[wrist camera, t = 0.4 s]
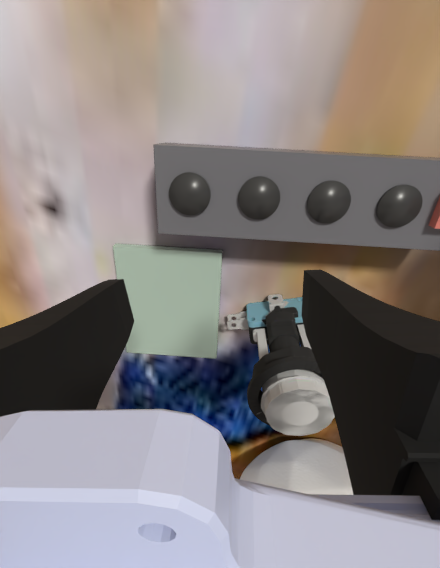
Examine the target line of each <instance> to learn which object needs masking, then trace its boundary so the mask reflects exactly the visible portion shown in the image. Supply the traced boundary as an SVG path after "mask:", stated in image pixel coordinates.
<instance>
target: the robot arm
mask: <svg viewBox="0 0 440 568" xmlns="http://www.w3.org/2000/svg"><path fill="white" fill-rule="evenodd" d="M301 315H302V320H303V324H304V329H305V333H306V336H307V339H308V342H309V344H310V347H311V349H312V352H313V354H314V357H315V359H316V362H317V364H318V367H319V369H320V372H321V374H322V377H323V379H324V382H325V385H326V388H327V391H328V394H329V397H330V401H331V405H332V408H333V412H334V416H335V419H336V423H337V427H338V431H339V435H340V439H341V443H342V447H343V451H344V456H345V460H346V464H347V468H348V473H349V477H350V481H351V486H352V491H353V495H328V494H305V493H301V492H296V491H291V490H287V489H282V488H277V487H273V486H268V485H264V484H259V483H254V482H250V481H245V480H240V479H236V478H234V476H233V473H232V465H231V455H230V450H229V448H228V446H227V444H226V442H225V440H224V439H223V437H222V435H221V433H220V431H219V430H217V429H216V428H214V427H213V426H211V425H210V424H208V423H206V422H205V421H203V420H201V419H200V418H198V417H196V416H195V415H193V414H189V413H183V412H177V411H172V410H166V409H113V410H96V407H97V405H98V402H99V399H100V397H101V395H102V392H103V390H104V388H105V386H106V384H107V382H108V380H109V378H110V376H111V374H112V372H113V370H114V368H115V366H116V364H117V362H118V360H119V358H120V356H121V354H122V352H123V350H124V348H125V346H126V344H127V342H128V340H129V337H130V334H131V331H132V327H133V324H134V318H133V314H132V310H131V306H130V302H129V298H128V294H127V290H126V286H125V283H124V279H115V280H107V281H104V282H102V283H99V284H97V285H95V286H93V287H91V288H89V289H87V290H85V291H83V292H81V293H79V294H77V295H75V296H73V297H71V298H69V299H67V300H65V301H63V302H61V303H59V304H57V305H55V306H53V307H51V308H49V309H47V310H45V311H43V312H40V313H38V314H36V315H33V316H31V317H29V318H26V319H24V320H21V321H19V322H16V323H13V324H11V325H8V326H5V327H2V328H0V568H440V322H439V321H436V320H432V319H429V318H425V317H422V316H419V315H416V314H413V313H410V312H407V311H404V310H402V309H399V308H396V307H394V306H391V305H389V304H386V303H384V302H382V301H379V300H377V299H375V298H373V297H371V296H369V295H367V294H365V293H363V292H361V291H359V290H357V289H355V288H353V287H351V286H350V285H348V284H346V283H344V282H343V281H341V280H339V279H337V278H336V277H334V276H332V275H330V274H329V273H327V272H325V271H322V270H304V281H303V298H302V314H301Z"/></svg>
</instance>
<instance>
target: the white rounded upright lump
mask: <svg viewBox="0 0 440 568" xmlns="http://www.w3.org/2000/svg"><path fill="white" fill-rule="evenodd" d="M240 480H245V481H250V482H254V483H259V484H264V485H268V486H273V487H277V488H282V489H287V490H291V491H296V492H301V493H305V494H328V495H353V491H352V486H351V481H350V477H349V473H348V468H347V464H346V460H345V456H344V451H343V447H341V446H339V445H337V444H335V443H332V442H329V441H326V440H322V439H316V438H308V439H302V440H288V441H284V442H281V443H279V444H277V445H274V446H272V447H271V448H269V449H267V450H265V451H264V452H262V453H261V454H260V455H258V456H257V457H256V458H255V459H254V460H253V461H252V462H251V463H250V464H249V465H248V466H247V467H246V469H245V470H244V471H243V473H242V475H241V477H240Z"/></svg>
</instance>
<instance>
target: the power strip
mask: <svg viewBox="0 0 440 568" xmlns="http://www.w3.org/2000/svg"><path fill="white" fill-rule="evenodd" d="M154 164H155V183H156V202H157V221H158V233H159V234H175V235H192V236H208V237H225V238H241V239H257V240H274V241H290V242H307V243H323V244H339V245H356V246H372V247H389V248H405V249H421V250H438V251H440V158H431V157H413V156H395V155H377V154H359V153H341V152H322V151H304V150H286V149H268V148H250V147H232V146H214V145H196V144H178V143H161V144H155V145H154Z"/></svg>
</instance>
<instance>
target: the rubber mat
mask: <svg viewBox="0 0 440 568" xmlns="http://www.w3.org/2000/svg"><path fill="white" fill-rule="evenodd" d="M113 251H114V259H115V267H116V274H117V279H124V283H125V286H126V290H127V294H128V298H129V302H130V306H131V310H132V314H133V318H134V324H133V327H132V331H131V334H130V337H129V340H128V342H127V344H126V351H127V352H129V353H143V354H158V355H173V356H187V357H202V358H216V356H217V339H218V321H219V303H220V284H221V266H222V250H212V249H196V248H179V247H163V246H147V245H131V244H115V245H114V246H113Z"/></svg>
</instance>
